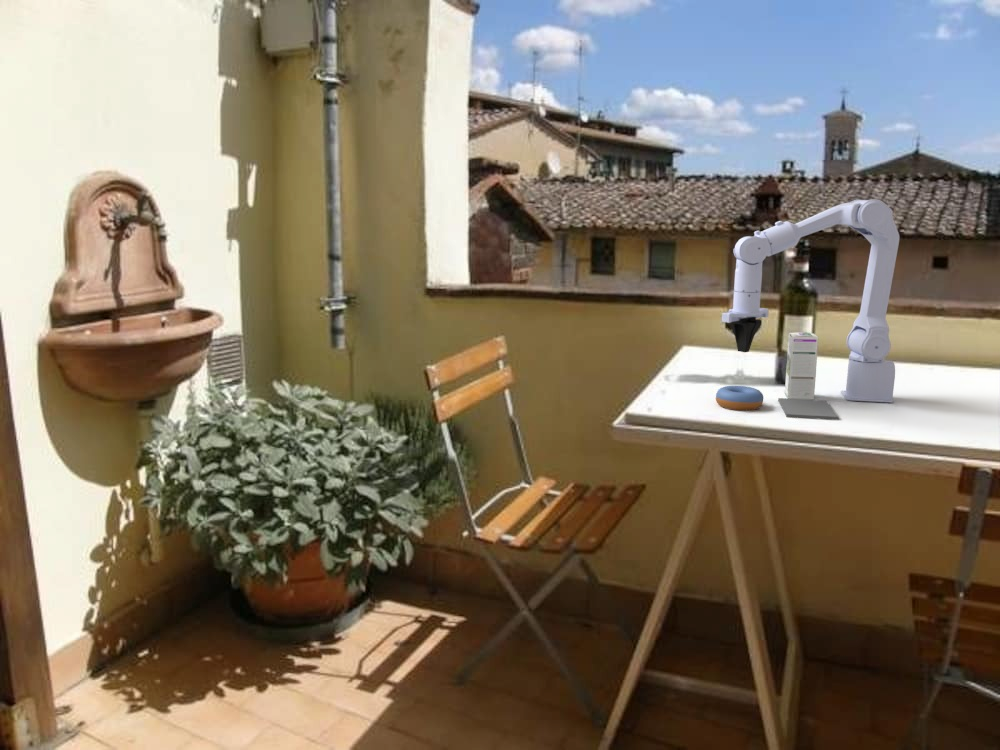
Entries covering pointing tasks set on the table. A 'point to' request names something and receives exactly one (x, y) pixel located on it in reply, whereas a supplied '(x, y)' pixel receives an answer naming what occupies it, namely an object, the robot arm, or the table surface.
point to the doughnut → (739, 398)
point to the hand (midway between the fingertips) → (743, 351)
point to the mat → (807, 408)
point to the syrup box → (801, 365)
